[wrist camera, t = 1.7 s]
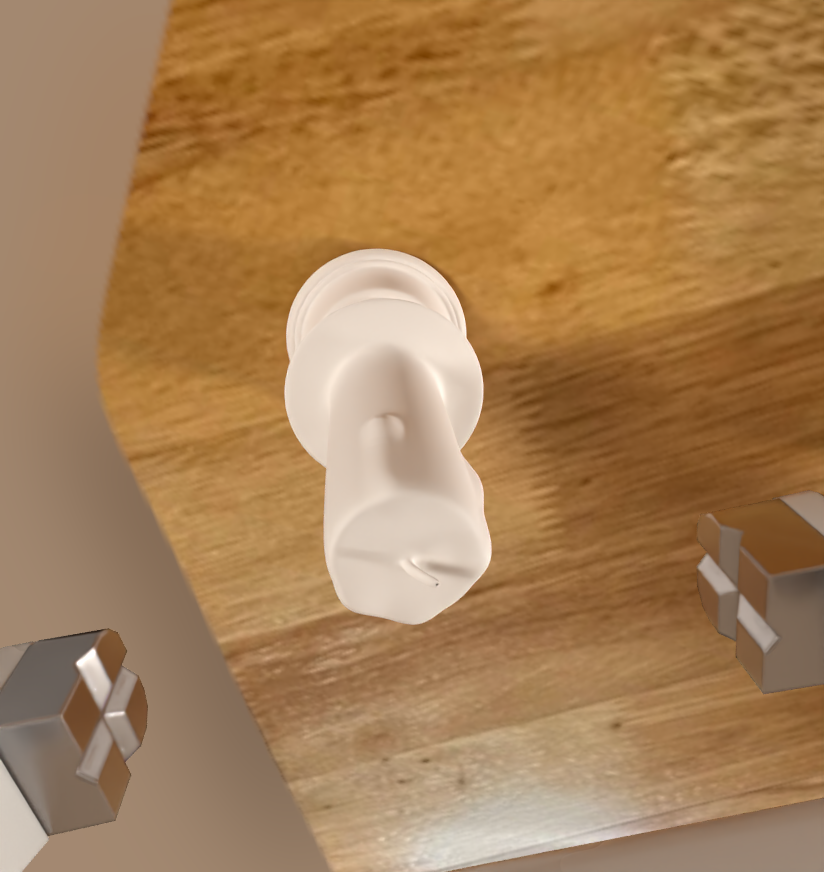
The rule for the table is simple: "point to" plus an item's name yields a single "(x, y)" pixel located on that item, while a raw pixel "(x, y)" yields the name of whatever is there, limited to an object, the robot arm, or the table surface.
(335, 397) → the white turned post
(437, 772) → the table surface
